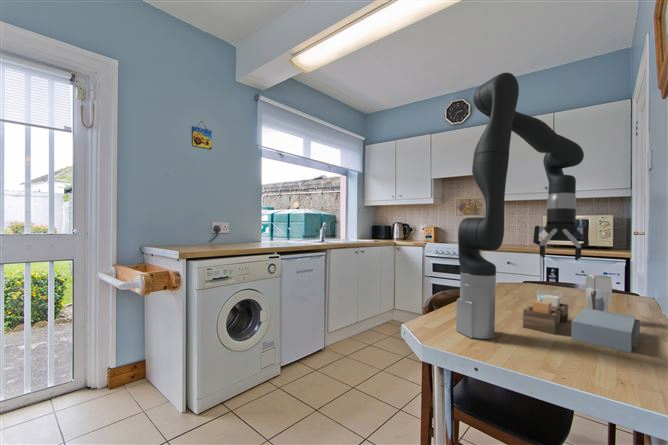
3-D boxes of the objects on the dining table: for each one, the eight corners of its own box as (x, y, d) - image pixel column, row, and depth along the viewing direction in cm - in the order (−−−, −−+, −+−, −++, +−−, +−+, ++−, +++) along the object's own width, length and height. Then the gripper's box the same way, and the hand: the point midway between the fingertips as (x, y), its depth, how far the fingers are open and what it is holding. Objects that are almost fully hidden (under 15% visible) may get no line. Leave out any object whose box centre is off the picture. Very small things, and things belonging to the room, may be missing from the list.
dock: (636, 354, 77) (636, 333, 77) (571, 339, 86) (571, 321, 86) (639, 334, 92) (640, 317, 92) (583, 323, 101) (584, 308, 101)
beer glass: (617, 323, 102) (618, 278, 102) (595, 323, 102) (596, 277, 102) (599, 317, 109) (600, 274, 109) (579, 316, 109) (580, 274, 109)
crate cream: (557, 310, 101) (557, 298, 101) (542, 308, 104) (543, 296, 104) (559, 308, 104) (560, 296, 104) (545, 306, 107) (545, 294, 107)
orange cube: (548, 317, 92) (548, 304, 92) (532, 314, 95) (532, 301, 95) (551, 315, 95) (551, 302, 95) (536, 312, 98) (536, 299, 98)
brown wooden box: (554, 334, 90) (554, 315, 90) (523, 327, 95) (523, 309, 95) (568, 321, 104) (568, 304, 104) (540, 315, 109) (540, 299, 109)
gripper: (590, 209, 97) (588, 260, 97) (536, 209, 107) (534, 256, 106) (589, 207, 92) (588, 261, 91) (533, 207, 101) (531, 257, 100)
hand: (559, 258), depth 99 cm, fingers open, 8 cm apart
